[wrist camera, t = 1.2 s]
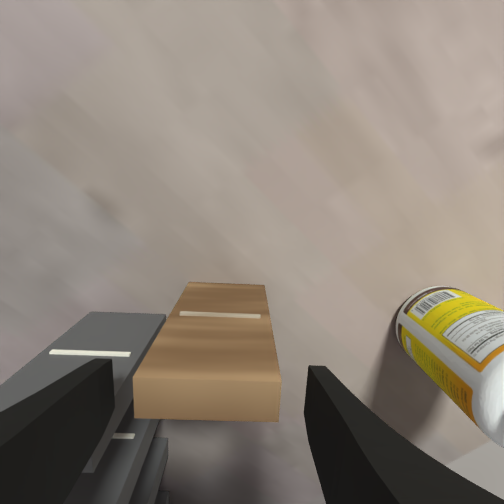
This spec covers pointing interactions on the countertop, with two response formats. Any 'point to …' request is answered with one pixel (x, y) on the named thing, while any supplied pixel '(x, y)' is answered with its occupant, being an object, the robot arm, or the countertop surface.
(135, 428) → the domino
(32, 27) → the countertop surface
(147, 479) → the domino
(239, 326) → the walnut domino
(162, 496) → the domino
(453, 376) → the supplement bottle
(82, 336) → the domino
